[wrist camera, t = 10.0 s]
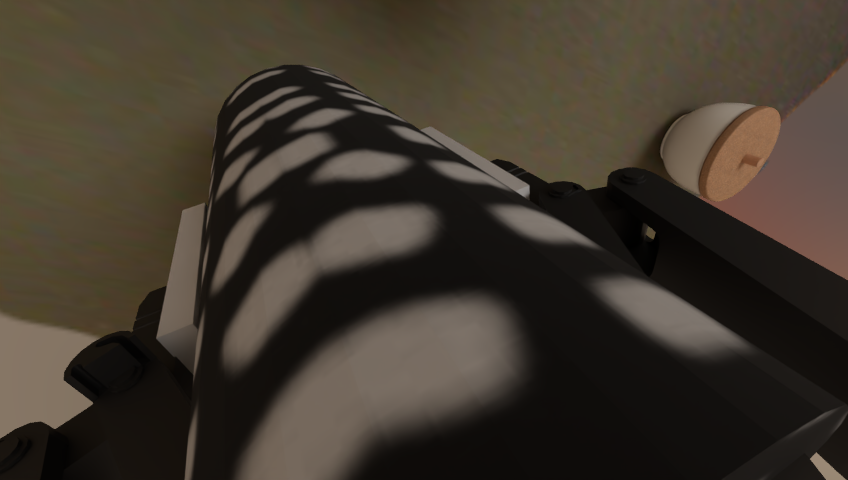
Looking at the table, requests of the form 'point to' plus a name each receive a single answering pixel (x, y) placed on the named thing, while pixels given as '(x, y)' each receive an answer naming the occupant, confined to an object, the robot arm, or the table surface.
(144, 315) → the robot arm
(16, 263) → the table surface
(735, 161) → the lidded jar
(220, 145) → the white-spotted black cylinder
